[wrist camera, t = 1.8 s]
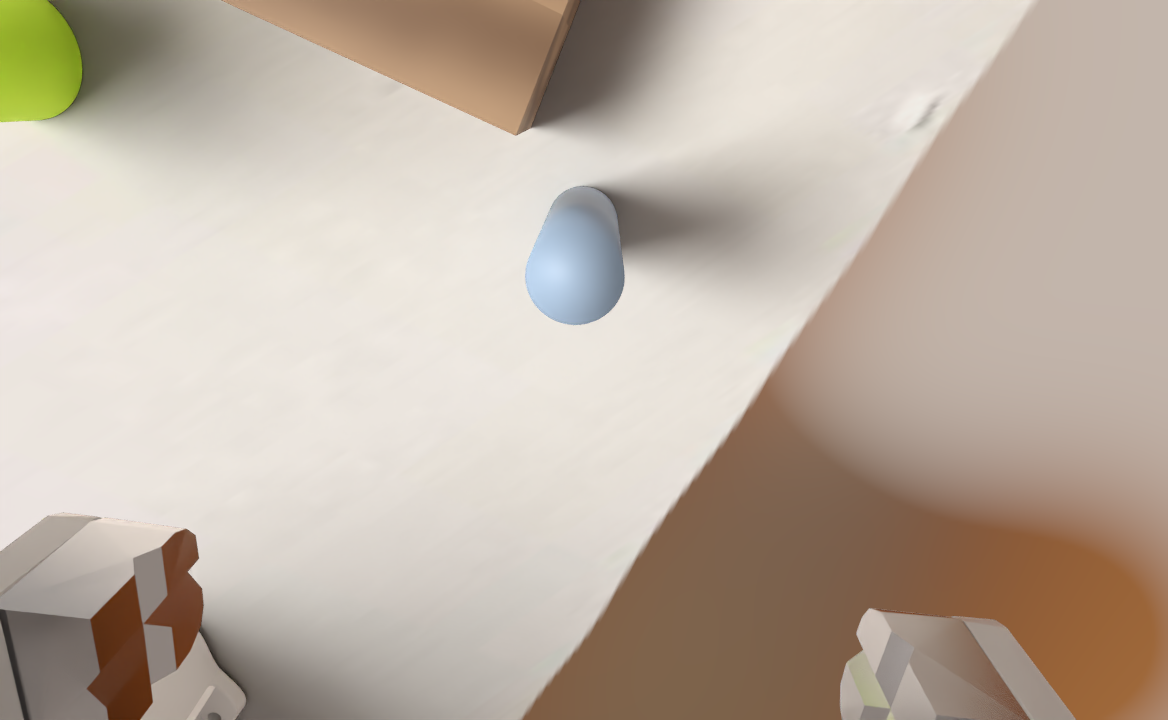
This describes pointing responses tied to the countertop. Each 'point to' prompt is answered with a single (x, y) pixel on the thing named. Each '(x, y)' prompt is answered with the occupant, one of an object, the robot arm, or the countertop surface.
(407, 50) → the socket block
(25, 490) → the countertop surface
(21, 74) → the soap dispenser
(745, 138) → the countertop surface
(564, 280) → the dowel
